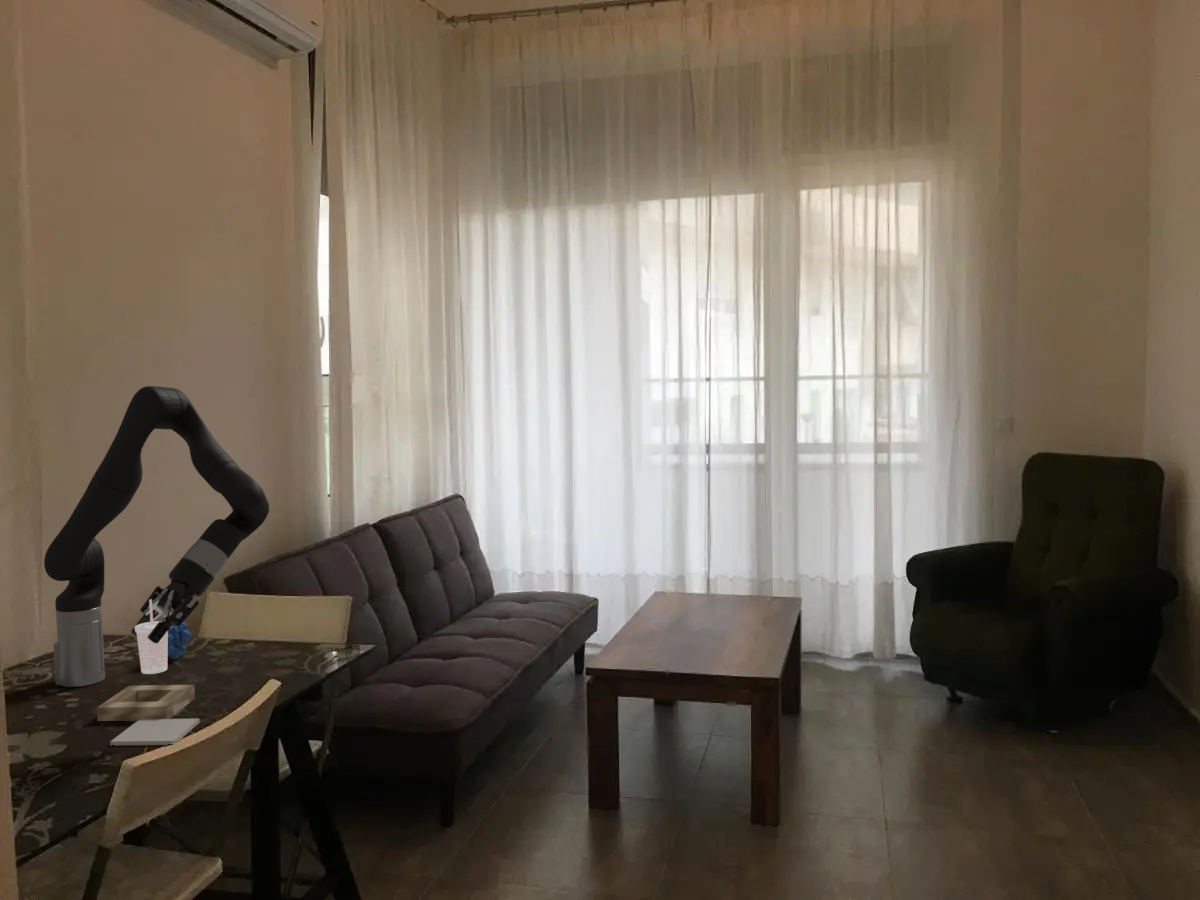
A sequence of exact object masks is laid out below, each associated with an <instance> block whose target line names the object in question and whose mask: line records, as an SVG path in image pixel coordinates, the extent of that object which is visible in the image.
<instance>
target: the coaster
mask: <svg viewBox="0 0 1200 900" xmlns="http://www.w3.org/2000/svg"><path fill="white" fill-rule="evenodd" d="M200 721H201V720H200V718H170V719H139V720H138V721H137V722H133V724H131V725H130V726H128V728H126V729H124V731H123V732H120V733H119V734H118V735H117V736H115V738H113V739H112V740H111V741H110V742H109V743H110V746H112V745H114V746H115V747H116V746H120V747H121V746H169V745H168V744H171V743H174V742H176V741H178V740H179V741H181V739H183V738H184V737H185V736H187V734H188V733H189V732H191V730H193V729H194V728H195V727H196V726H197V725H199V723H200ZM179 741H178V742H179Z"/></svg>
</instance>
